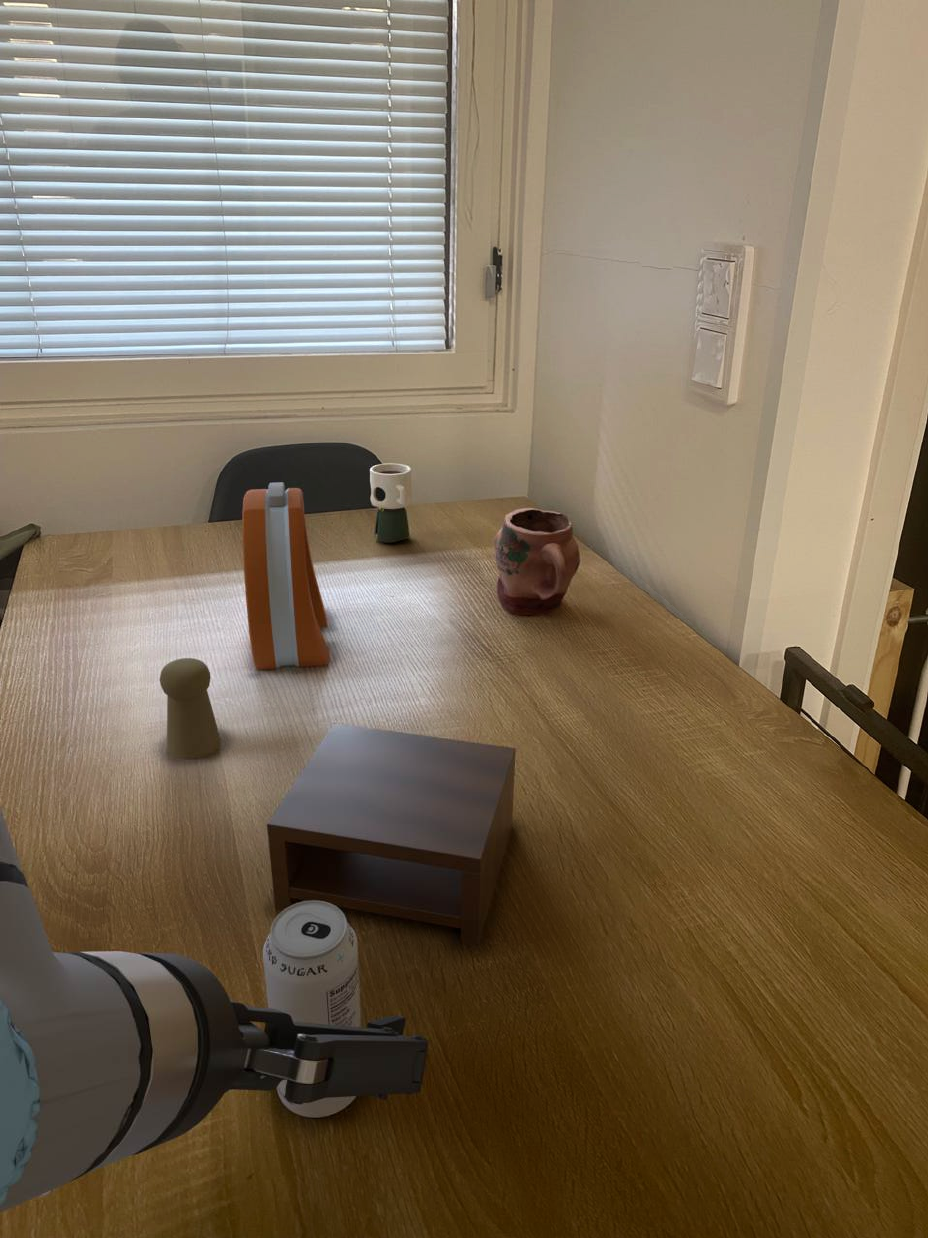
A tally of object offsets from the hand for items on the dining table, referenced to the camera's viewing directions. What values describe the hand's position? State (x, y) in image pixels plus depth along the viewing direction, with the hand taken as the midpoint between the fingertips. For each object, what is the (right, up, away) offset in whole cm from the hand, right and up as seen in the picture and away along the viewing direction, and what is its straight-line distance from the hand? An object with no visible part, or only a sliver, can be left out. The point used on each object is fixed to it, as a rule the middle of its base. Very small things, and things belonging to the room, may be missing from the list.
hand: (289, 1018), depth 56 cm
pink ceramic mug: (+21, +26, +81) cm, 88 cm away
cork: (-19, +10, +46) cm, 51 cm away
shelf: (+5, +1, +28) cm, 29 cm away
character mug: (-2, +39, +106) cm, 113 cm away
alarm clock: (-13, +21, +69) cm, 73 cm away
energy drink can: (+1, -9, +8) cm, 12 cm away
